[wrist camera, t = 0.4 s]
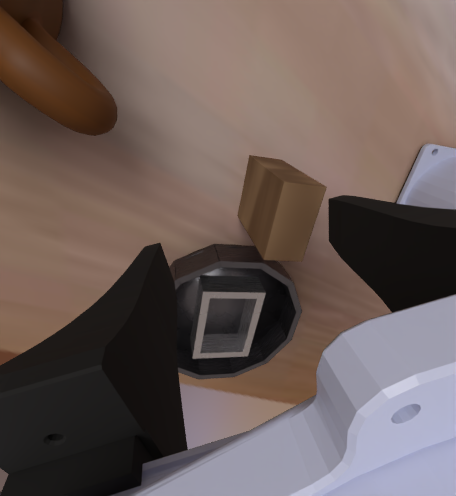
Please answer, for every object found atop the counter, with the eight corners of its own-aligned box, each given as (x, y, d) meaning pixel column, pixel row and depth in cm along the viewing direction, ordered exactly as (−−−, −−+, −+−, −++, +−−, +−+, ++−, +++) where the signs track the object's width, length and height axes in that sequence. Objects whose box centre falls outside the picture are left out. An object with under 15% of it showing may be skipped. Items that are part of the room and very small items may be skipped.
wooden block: (281, 159, 20) (326, 187, 15) (266, 218, 22) (301, 261, 17) (249, 155, 20) (284, 181, 14) (237, 215, 22) (263, 259, 16)
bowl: (305, 248, 24) (319, 264, 22) (270, 353, 30) (279, 374, 28) (153, 239, 21) (151, 257, 19) (146, 358, 27) (145, 382, 25)
